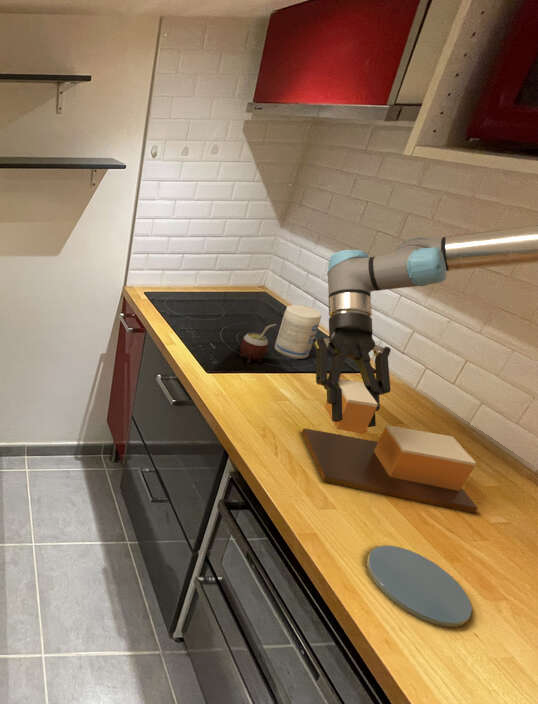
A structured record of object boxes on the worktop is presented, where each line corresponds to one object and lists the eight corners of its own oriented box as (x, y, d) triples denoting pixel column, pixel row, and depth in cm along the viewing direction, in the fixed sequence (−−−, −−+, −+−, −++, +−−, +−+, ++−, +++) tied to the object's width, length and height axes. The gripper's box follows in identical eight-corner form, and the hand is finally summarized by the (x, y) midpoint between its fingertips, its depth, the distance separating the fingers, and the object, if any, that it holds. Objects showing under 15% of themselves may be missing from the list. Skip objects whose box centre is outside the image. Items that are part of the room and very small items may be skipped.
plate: (462, 578, 75) (465, 574, 74) (475, 646, 65) (478, 642, 65) (367, 536, 82) (369, 532, 82) (366, 591, 73) (368, 588, 72)
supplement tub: (310, 362, 137) (325, 320, 131) (275, 356, 141) (288, 314, 135) (305, 348, 145) (318, 307, 139) (272, 342, 149) (284, 302, 143)
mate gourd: (241, 350, 143) (252, 308, 137) (268, 359, 139) (281, 315, 133) (235, 360, 138) (246, 316, 132) (263, 369, 134) (276, 324, 127)
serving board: (430, 457, 101) (433, 452, 100) (475, 513, 87) (478, 508, 86) (301, 432, 108) (303, 427, 107) (323, 481, 94) (325, 476, 93)
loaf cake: (438, 463, 97) (452, 436, 94) (459, 491, 90) (476, 463, 87) (373, 451, 100) (385, 424, 97) (389, 477, 93) (403, 449, 90)
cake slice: (350, 410, 97) (361, 382, 94) (365, 434, 90) (378, 404, 87) (324, 406, 99) (334, 377, 96) (336, 429, 92) (348, 399, 89)
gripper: (388, 328, 99) (395, 434, 91) (296, 317, 104) (296, 417, 96) (409, 317, 92) (418, 430, 85) (310, 305, 97) (310, 411, 89)
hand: (353, 423), depth 90 cm, fingers closed on cake slice, 5 cm apart
